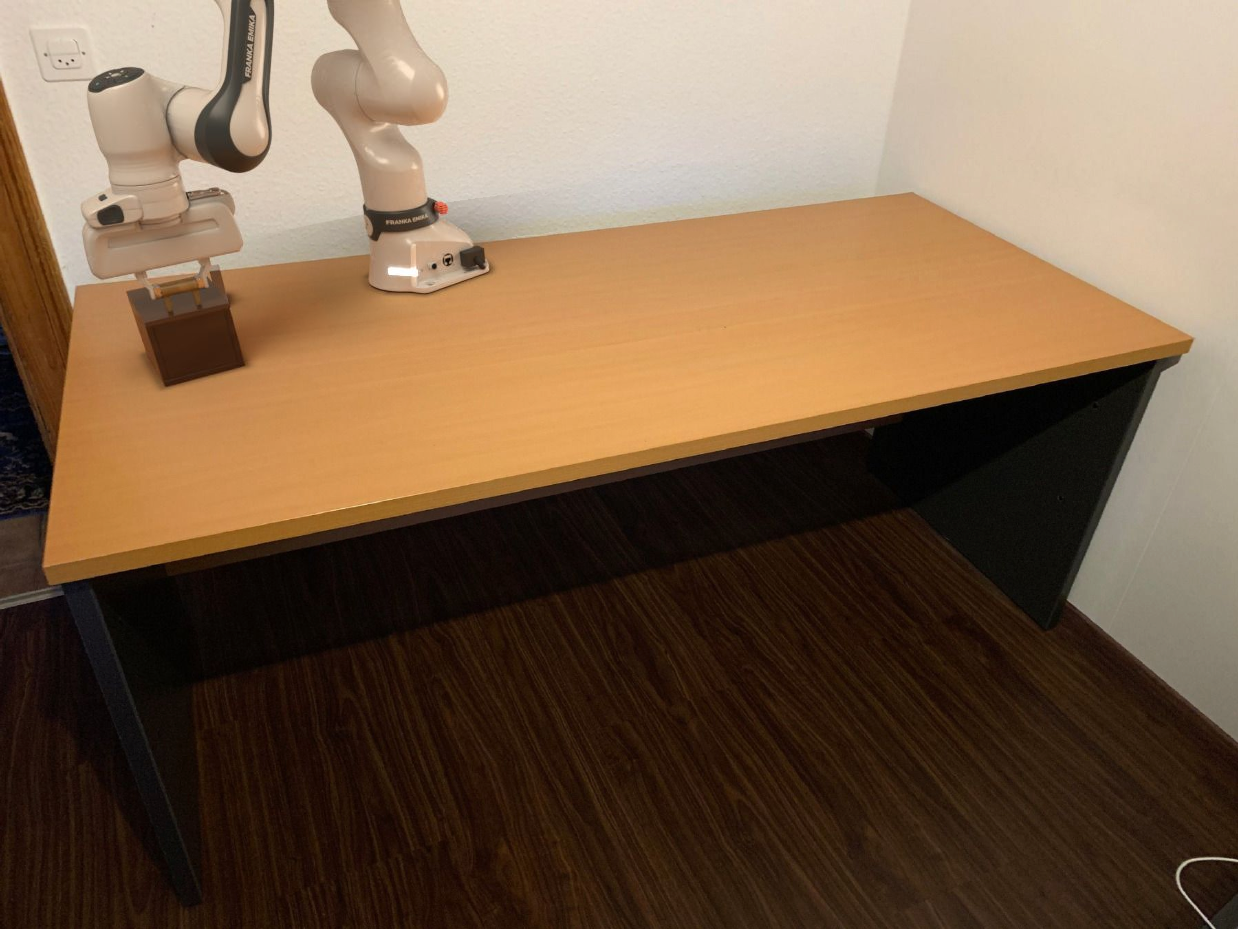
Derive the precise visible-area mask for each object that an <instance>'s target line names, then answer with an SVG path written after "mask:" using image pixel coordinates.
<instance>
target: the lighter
mask: <svg viewBox="0 0 1238 929" xmlns="http://www.w3.org/2000/svg"><path fill="white" fill-rule="evenodd" d="M209 276H210V280H211V281H212V283H213V284H214V285H215V286H216V287H217V289H218V290H219V291H220V292H221V293H222V295H223V296H224V297H225V298H226V300H227V301H228V302H229V297H228V295H227V291H226V287H225V282H224V280H223V275H222V271H221V268H220V264H213V265H212V264H211V267H210V270H209ZM229 303H230V302H229Z"/></svg>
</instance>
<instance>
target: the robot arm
mask: <svg viewBox="0 0 1238 929" xmlns="http://www.w3.org/2000/svg"><path fill="white" fill-rule="evenodd" d="M213 1H214V2H215V4H216V5H217V7H218V8H219V10H220V13H221V16H222V19H223V37H222V51H221V52H222V53H221V62H220V64H221V65H220V77H219V82H218V84H217V86H216V87H215V89H213V90H212V89H206V88H203V87H197V86H193V85H192V86H191V85H186V84H181V83H177V82H173V81H169V80H165V79H163V78H160V77H157V76H155V75H153V74H151V73H149V72H148V71H146V70H145V69H144V68H141V67H138V66H137V67H136V66H126V67H125V66H124V67H119V68H113V69H109V70H106V71H104V72H101V73H100V74H98V75H96V76H95V77H93V78H92V79H91V81H90V82H89V83H88V85H87V87H86V88H87V89H86V101H87V109H88V113H89V117H90V121H91V126H92V129H93V133H94V136H95V140H96V142H97V143H96V144H97V146H98V149H99V150H100V153H101V154H102V155H103V157H104V159H105V160H106V163H107V168H108V181H109V184H110V186H109V187H107V189H104V190H103V191H100V192H99V193H97V194H95V195H93V196H90V197H89V198H87V199H85V200H83V201H82V202H81V203H80V212H81V215H82V216H83V219H84V221H85V222H84V224H83V226H82V230H81V232H82V233H81V234H82V242H83V243H82V244H83V247H84V248H83V249H84V254H85V257H86V261H87V264H88V267H89V270H90V272H91V274H92V275H93V276H94V277H96V278H97V279H99V280H103V281H104V280H109V279H113V278H118V277H122V276H127V275H132V274H133V275H134V277H135V279H136V281H137V282H139V283H140V284H141V285H142V286H143V287H146V288H147V289H148V292H149V295H150V297H151V299H152V300H156V299H160V298H163V296H162V294H161V289H160V287H159V286H158V284H159V283H151V282H150V281H148V280H147V279H148V274H147V271H152V270H157V269H161V268H167V267H172V266H176V265H181V264H187V263H191V262H196V261H197V263H198V264H199V265H200V268H199V271H198V274H194V275H193V276H192V277H194V278H195V279H196V282H197V284H198V290H201V289H206V288H209V285H208V281H207V278H206V277H207V276H208V275H209V274H210V272H209V270H210V267H211V265H212V262H211V258H215V257H220V256H225V255H229V254H234V253H238V252H239V253H240V251H241V250H242V248H243V245H244V240H243V237H242V234H241V231H240V228H239V226H238V224H237V221H236V219H235V217H234V215H235V213H236V205H235V201H234V198H233V195H232V194H231V193H230V192H229V191H227V190H225V189H221V188H220V187H216V186H215V187H209V188H206V189H198V190H196V189H195V190H189V191H186V188H185V184H184V181H183V177H182V173H181V169H180V163H181V162H182V161H185V160H191V161H193V162H198V163H202V164H206V165H211V166H213V167H217V168H219V169H221V170H224V171H227V172H230V173H234V174H244V173H248V172H251V171H252V170H254V169H256V168H257V167H258V166H260V165H261V164H262V162H263V161H264V159H265V158H266V157H267V156H268V154H269V151H270V148H271V145H272V141H273V140H272V139H273V127H272V118H271V111H270V110H271V109H270V86H271V71H272V57H273V56H272V55H273V42H274V29H275V28H274V27H275V0H213ZM326 3H327V9H328V11H329V14H330V15H331V17H332V19H333V20H334V21H335V22H336V23H337V24H338V25H339V26H340V27H342V28H343V29H344V30H345V31H346V32H347V33H348V34H349V36H350V37H351V39H352V40H353V41H354V43H355V45H356V47H357V49H352V48H344V49H339V50H334V51H329V52H326V53H323V54H321V55H319V57H317V59H316V60H315V61H314V65H312V68H311V74H310V85H311V90H312V93H313V96H314V98H315V100H316V101H317V103H318V104H319V106H320V107H321V108H323V109H324V110H325V111H326V112H327V113H328V114H329V115H330V116H331V117H332V118H333V120H334V121H335V123H336V124H337V126H338V127H339V129H340V130H341V132H342V134H343V136H344V138H345V140H346V142H347V143H348V146H349V147H350V150H351V152H352V155H353V157H354V161H355V163H356V166H357V171H358V176H359V181H360V187H361V191H362V196H363V202H364V203H363V204H362V211H363V221H364V228H365V231H366V234H367V237H368V239H369V240H368V241H369V271H368V279H367V282H368V283H369V285H370V286H372V287H374V288H376V289H379V290H382V291H388V292H412V293H417V294H428V293H429V294H430V293H432V292H435V291H438V290H440V289H443V288H446V287H449V286H452V285H456V284H458V283H461V282H464V281H466V280H469V279H472V278H476V277H477V276H481V275H483V274H486V273H488V272H490V263H489V261H488V260H487V258H486V254H485V248H484V247H482V246H480V245H474V243H473V240H472V239H471V237H470V236H469V235H468V233H467V232H465V231H464V230H463V229H461V228H459V227H457V226H456V225H454V224H453V223H451V222H450V221H447V219H444V218H443V217H441V215H442V216H444V215H446V214H448V212H449V209H450V208H449V205H447V203H445V202H443V201H441V200H440V201H438V200H436V199H434V198H432V197H428V193H427V185H426V179H425V178H426V176H425V168H424V162H423V158H422V156H421V154H420V152H419V151H418V149H416V147H414V146H413V145H412V144H411V143H410V142H409V141H408V140H407V139H406V138H405V136H404V135H403V133H402V132H401V130H400V128H399V126H404V127H405V126H406V127H413V126H414V127H415V126H422V125H429V124H434V123H436V122H437V121H438V120H440V118H442V116H443V114H444V113H445V112H446V111H445V110H446V109H447V106H448V103H449V96H450V95H449V94H450V93H449V83H448V81H447V80H448V79H447V77H446V75H445V73H444V72H443V70H442V68H441V67H440V66H439V65H438V64H437V63H436V62H435V61H433V60H432V59H431V58H430V57H429V55H428V54H427V53H425V51H424V49H423V48H422V46H420V44H419V43H418V41H417V39H416V37H415V36H414V34H413V32H412V30H411V27H410V26H409V23H408V21H407V20H406V17H405V14H404V12H403V8H402V5H401V1H400V0H326ZM398 125H399V126H398ZM208 277H209V276H208Z"/></svg>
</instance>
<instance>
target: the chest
mask: <svg viewBox="0 0 1238 929" xmlns="http://www.w3.org/2000/svg"><path fill="white" fill-rule="evenodd" d="M127 299H128V302H129V305H130V308H131V311H132V314H133V317H134V320H135V323H136V326H137V330H138V332H139V335H140V339H141V341H142V344H143V347H144V350H145V353H146V356H147V358H148V359H149V361H150V363H151V365H152V367H153V369H154V370H155V372H156V374H157V375H158V377H159V379H160V381H161V383H162V384H163V387H165V388H166V387H170V386H174V385H178V384H181V383H187V382H190V381H192V380H196V379H197V380H198V379H201V378H204V377H209V376H211V375H216V374H220V373H223V372H227V371H230V370H236V369H238V368H242V367H245V366H246V364H245V359H244V356H243V352H242V348H241V345H240V341H239V337H238V333H237V330H236V326H235V322H234V319H233V314H232V312H231V311H232V310H231V307H230V308H227V309H223V310H219V311H214V312H210V313H206V314H202V315H197V316H193V317H189V318H185V319H180V320H176V321H172V322H168V323H163V324H159V325H155V326H150V327H146V326H145V325H144V323H143V321H142V320H141V318H140V316H139V315H138V313H137V311H136V309H135V308H134V306H133V304H132V303H131V301H130V299H129V298H128V297H127Z"/></svg>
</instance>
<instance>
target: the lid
mask: <svg viewBox="0 0 1238 929" xmlns="http://www.w3.org/2000/svg"><path fill="white" fill-rule="evenodd" d="M206 278H207V281H208V285H209V288H206V289H201V290H198V284H197V282H196V279H195V278H194V277H193V276H190V277H186V278H182V279H177V280H171V281H167V282H162V283H157V284H158V286H159V287H160V289H161V294H162V296H163V298H160V299H156V300H152V299H151V297H150V295H149V292H148V289H147V288H146V287H145V286H143V287H139V288H135V289H130V290H126V291H125V294H126V296H127V299H128V298H129V299H130V301H131V303H132V304H133V306H134V308H135V309H136V311H137V313H138V315H139V316H140V318H141V320H142V321H143V323H144V325H145V326H146V327H150V326H155V325H159V324H163V323H168V322H172V321H176V320H180V319H185V318H189V317H193V316H197V315H202V314H206V313H210V312H214V311H219V310H223V309H227V308H230V309H231V303H230V302H228V301H229V300H228V301H227V300H226V298H225V297H224V296H223V295H222V293H221V292H220V291H219V290H218V289H217V287H216V286H215V285H214V284H213V283H212V279H211V278H209V276H207V277H206ZM129 299H128V300H129Z"/></svg>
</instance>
